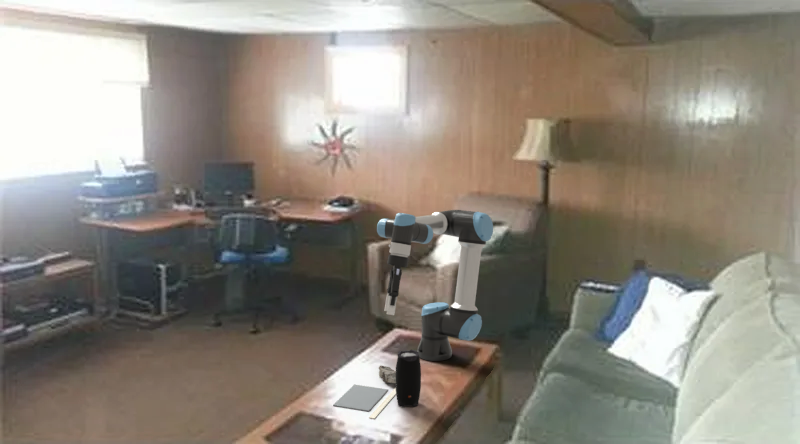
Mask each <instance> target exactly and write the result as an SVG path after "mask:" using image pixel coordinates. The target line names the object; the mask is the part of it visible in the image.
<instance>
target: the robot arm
mask: <svg viewBox="0 0 800 444" xmlns="http://www.w3.org/2000/svg"><path fill="white" fill-rule="evenodd" d="M492 220H493V219H491V216H490V215H489V214H488V213H486V212H481V211H471V210H462V209H449V210H448V209H447V210H442V211H441V210H440V211H435V212H433V213H432V214H427V215H421V216H415V215H414V214H409V213H403V212H398V213H397V212H396V214H395V218H394V219H393V218H381V219H379V221H378V222H377V225H376V232H377V235H378V236H379V237H381V238H385V239H390V244H388V247H389V250H388V251H389V253H390V254H388V257H387V261H386V263H387V265H389V266H393V267H391V269H390V271H389V282H388V286H387V289H386V291H387V292H386V298H385V303H384V304H385V305H384V310H383V311H384V312H386V315H391V316H395V314H396V307H397V301H398V296H399V294H400V291H399V290H400V284H401V278H402V273H403V271H402V269H401V268H408V267H409V259H410V258H409V257H410V256H411V255H410V254H411V249H412V243H418V244H422V245H426V244H429V243H431V241H432V240H433V238H434V234H435V235H446V236H449V237H456V238H458V239H457V240H458V243H459V245H460V247H461V248H460V254H459V255H460V256H459V262H458V271H457V278H456V286H455V294H454V301H453V303H452V304H450V306H449V303H447V302H441V301H440V302H431V303H427V304H424V305H423V306H422V308H421V315H420V316H421V338H420V341H419V344H418V346H417V350H416V351H417V352H418V353H419V358H420V359H422V360H424V361H425V360H426V361H430V362H439V361H446V360H449V359H450V358H452V356H453V349H452V346H451V344H450V340H449V337H450V338H455V339H459V340H460V341H468V342H470V341H473V340H474V339H476V337H477V336H478V335H479V333H480V331H481V329H482V325H483V320H482V319H483V318H482V316H481V315H480V314H478V311H479V310H478V308H477V306H476V299H477V297H476V295H477V290H478V281H479V273H480V272H479V271H480V265H481V264H480V263H481V257H482V249H483V248H484V247H485V246H486V245H487V242H489V241H490V240H491V238H492V236H493V235H494V224H493V221H492Z"/></svg>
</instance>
